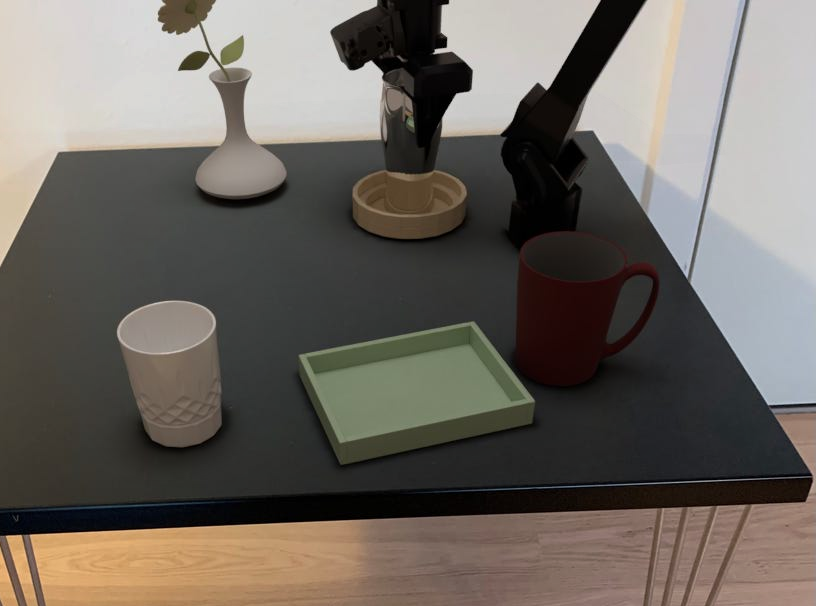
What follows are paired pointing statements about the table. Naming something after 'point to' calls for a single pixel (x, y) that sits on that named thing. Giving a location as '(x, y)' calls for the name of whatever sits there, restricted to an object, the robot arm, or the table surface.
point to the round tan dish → (377, 221)
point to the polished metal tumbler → (405, 152)
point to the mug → (571, 305)
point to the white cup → (174, 370)
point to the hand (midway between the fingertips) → (410, 135)
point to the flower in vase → (238, 154)
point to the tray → (413, 391)
